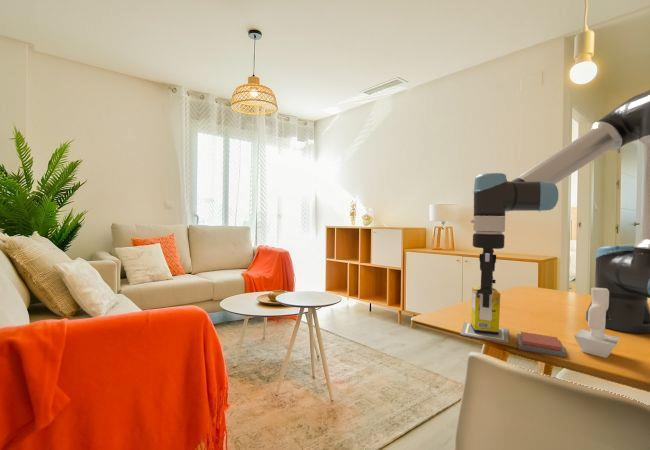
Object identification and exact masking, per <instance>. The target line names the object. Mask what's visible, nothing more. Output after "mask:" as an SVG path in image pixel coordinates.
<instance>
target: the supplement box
mask: <svg viewBox="0 0 650 450" xmlns="http://www.w3.org/2000/svg"><path fill="white" fill-rule="evenodd" d="M471 289H472V290H471V293H472V294H471V312H470V313H471V317H470V323H471V326H472V328H473V330H474V332H476V333H486V334H495V335H498V334H499V328H500V315H501V314H500V311H501V310H500V308H501V293H500V292H499V291H498V290H497V289H496V288H494V287H493V288H492V321H488V320H481V319H479V318H480V293H477V290H480V289H481V286H480V287H477V286H472V288H471Z"/></svg>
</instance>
